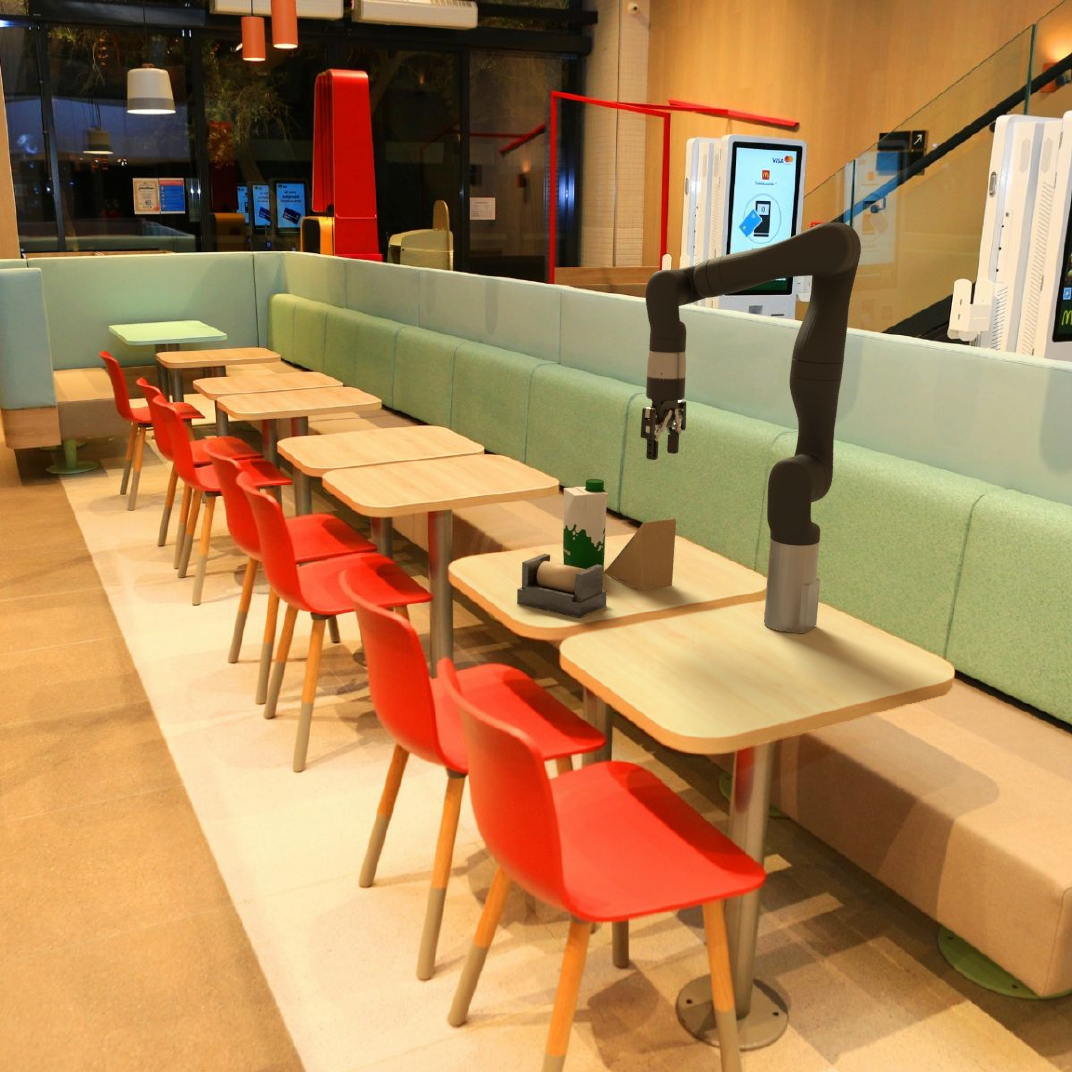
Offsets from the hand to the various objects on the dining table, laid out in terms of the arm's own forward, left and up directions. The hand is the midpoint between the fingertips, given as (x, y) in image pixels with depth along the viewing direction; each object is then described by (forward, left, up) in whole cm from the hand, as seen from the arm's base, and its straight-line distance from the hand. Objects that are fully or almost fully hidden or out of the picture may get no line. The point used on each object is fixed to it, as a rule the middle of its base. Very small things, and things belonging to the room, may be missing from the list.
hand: (662, 456), depth 227 cm
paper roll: (+14, +14, -27) cm, 34 cm away
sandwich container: (+11, -11, -30) cm, 34 cm away
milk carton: (+24, -10, -30) cm, 40 cm away
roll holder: (+14, +14, -30) cm, 36 cm away
